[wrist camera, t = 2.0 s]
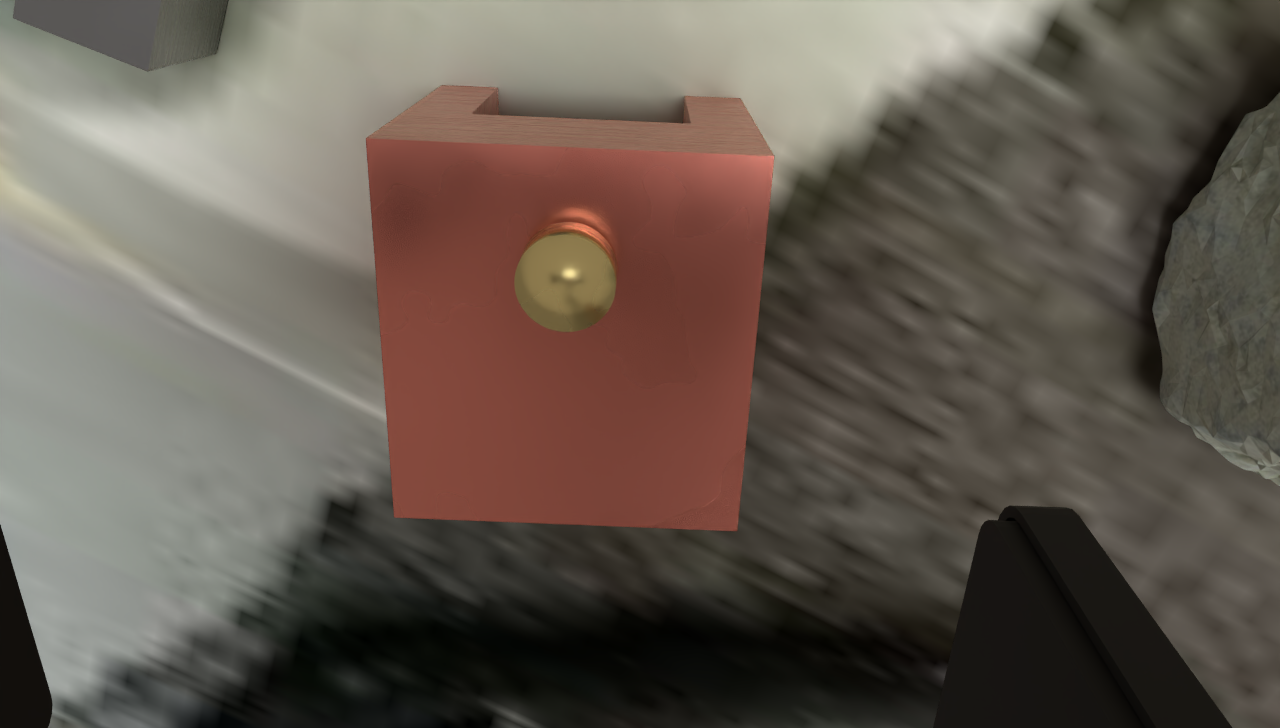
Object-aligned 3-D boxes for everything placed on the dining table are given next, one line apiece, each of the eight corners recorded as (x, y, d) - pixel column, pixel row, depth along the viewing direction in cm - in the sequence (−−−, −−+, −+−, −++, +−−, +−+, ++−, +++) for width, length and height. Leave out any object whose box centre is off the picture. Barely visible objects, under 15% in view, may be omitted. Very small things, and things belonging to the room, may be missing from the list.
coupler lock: (716, 391, 23) (740, 556, 17) (454, 381, 23) (383, 542, 17) (740, 98, 20) (780, 167, 14) (441, 85, 20) (351, 148, 14)
